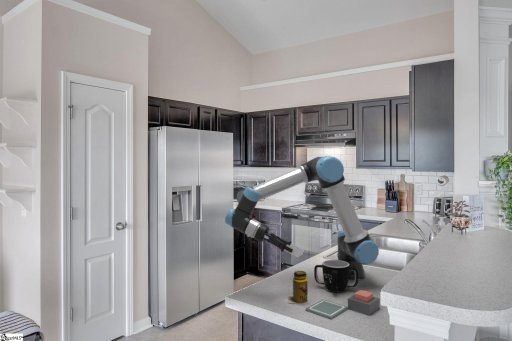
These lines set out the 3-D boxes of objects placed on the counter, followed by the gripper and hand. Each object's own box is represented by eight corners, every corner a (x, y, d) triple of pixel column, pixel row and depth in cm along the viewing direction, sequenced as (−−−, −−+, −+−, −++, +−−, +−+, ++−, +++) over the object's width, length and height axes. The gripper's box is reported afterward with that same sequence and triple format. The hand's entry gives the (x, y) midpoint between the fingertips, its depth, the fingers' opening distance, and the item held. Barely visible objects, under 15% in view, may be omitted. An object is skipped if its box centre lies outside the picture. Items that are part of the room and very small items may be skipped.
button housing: (358, 301, 143) (358, 292, 143) (379, 308, 136) (379, 298, 136) (347, 308, 136) (347, 298, 136) (369, 315, 130) (369, 304, 130)
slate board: (323, 301, 144) (323, 299, 144) (348, 309, 136) (348, 306, 136) (305, 310, 135) (305, 308, 135) (331, 319, 127) (331, 317, 127)
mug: (311, 285, 162) (311, 260, 162) (340, 281, 168) (340, 257, 168) (330, 298, 147) (330, 270, 147) (361, 293, 152) (361, 266, 152)
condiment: (308, 304, 141) (308, 275, 141) (288, 303, 142) (287, 274, 141) (307, 297, 148) (307, 269, 148) (288, 296, 149) (287, 269, 149)
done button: (360, 297, 140) (360, 289, 140) (373, 300, 136) (373, 293, 136) (354, 301, 136) (354, 293, 136) (367, 304, 132) (367, 297, 132)
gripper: (260, 238, 163) (300, 259, 157) (246, 239, 139) (294, 264, 133) (267, 223, 163) (307, 244, 157) (255, 222, 139) (302, 247, 133)
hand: (301, 254), depth 145 cm, fingers open, 13 cm apart
